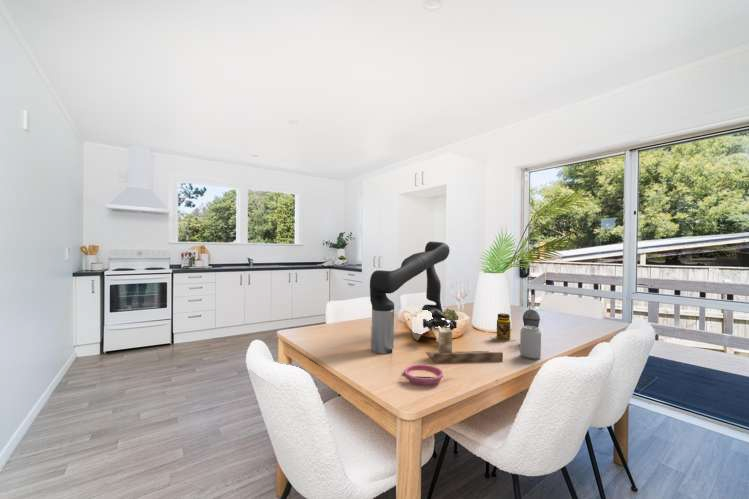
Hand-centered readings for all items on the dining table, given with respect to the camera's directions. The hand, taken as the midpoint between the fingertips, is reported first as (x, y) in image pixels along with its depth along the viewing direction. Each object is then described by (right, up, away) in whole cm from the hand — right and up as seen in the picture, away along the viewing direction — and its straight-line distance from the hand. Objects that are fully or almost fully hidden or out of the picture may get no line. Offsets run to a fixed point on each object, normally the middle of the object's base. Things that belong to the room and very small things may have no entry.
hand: (441, 327), depth 135 cm
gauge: (-1, -8, -12) cm, 15 cm away
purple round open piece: (-12, -10, -30) cm, 34 cm away
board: (+6, -10, -11) cm, 16 cm away
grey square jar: (+34, -11, -5) cm, 36 cm away
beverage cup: (+43, -11, +13) cm, 46 cm away
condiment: (+33, -11, +21) cm, 41 cm away
